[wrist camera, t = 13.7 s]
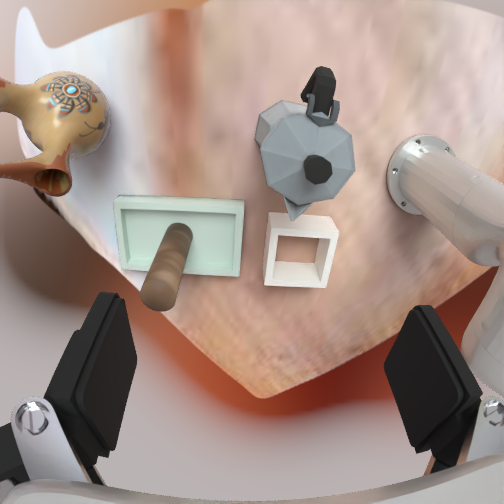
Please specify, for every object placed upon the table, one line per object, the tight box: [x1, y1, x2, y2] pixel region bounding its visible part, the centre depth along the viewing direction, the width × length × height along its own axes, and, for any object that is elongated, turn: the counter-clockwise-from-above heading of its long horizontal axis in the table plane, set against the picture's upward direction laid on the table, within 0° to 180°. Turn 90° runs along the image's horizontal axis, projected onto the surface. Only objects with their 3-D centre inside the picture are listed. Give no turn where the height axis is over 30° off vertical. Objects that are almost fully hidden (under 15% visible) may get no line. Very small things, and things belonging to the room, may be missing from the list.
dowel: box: [140, 223, 193, 311], centre depth 39 cm, size 4×4×14 cm
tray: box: [113, 195, 244, 277], centre depth 45 cm, size 18×11×2 cm, turn 85°
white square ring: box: [262, 212, 339, 288], centre depth 45 cm, size 9×9×5 cm
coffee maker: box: [255, 66, 355, 221], centre depth 31 cm, size 15×9×18 cm, turn 169°
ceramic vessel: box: [0, 71, 111, 197], centre depth 25 cm, size 16×9×25 cm, turn 35°
